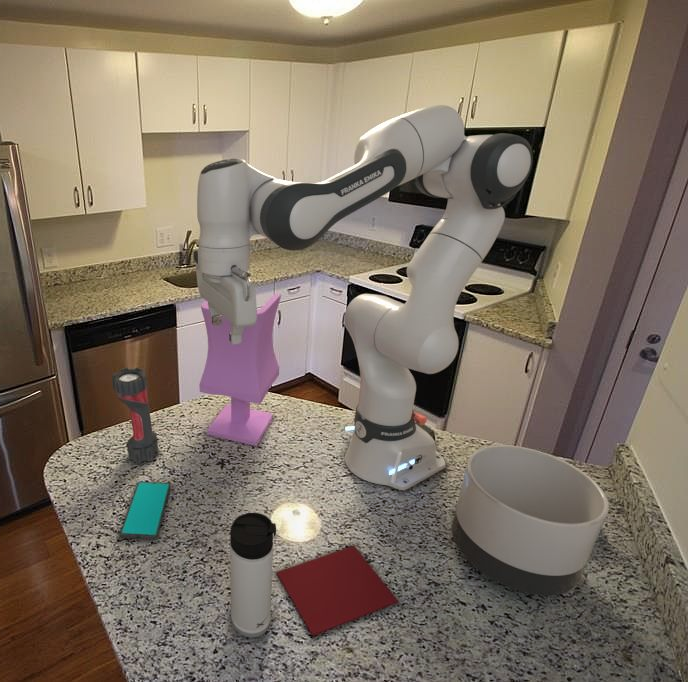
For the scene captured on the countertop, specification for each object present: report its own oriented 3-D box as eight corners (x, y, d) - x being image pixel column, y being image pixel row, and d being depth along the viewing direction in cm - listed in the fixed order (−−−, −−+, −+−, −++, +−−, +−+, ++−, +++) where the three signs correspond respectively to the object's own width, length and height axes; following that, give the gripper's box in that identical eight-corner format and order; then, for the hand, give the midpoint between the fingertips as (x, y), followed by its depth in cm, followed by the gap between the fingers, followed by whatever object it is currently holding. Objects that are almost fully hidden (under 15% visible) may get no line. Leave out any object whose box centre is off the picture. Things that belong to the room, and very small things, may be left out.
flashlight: (116, 461, 111) (104, 377, 102) (136, 443, 117) (127, 362, 108) (141, 471, 108) (132, 385, 98) (161, 453, 114) (154, 370, 104)
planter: (450, 506, 95) (467, 434, 88) (565, 539, 87) (595, 462, 80) (445, 580, 80) (466, 500, 72) (585, 629, 71) (624, 544, 64)
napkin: (353, 547, 86) (354, 545, 86) (398, 602, 76) (398, 600, 76) (276, 573, 82) (276, 571, 82) (312, 636, 71) (312, 634, 71)
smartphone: (119, 534, 90) (138, 481, 103) (120, 537, 90) (138, 484, 104) (157, 537, 89) (170, 483, 102) (157, 540, 89) (171, 486, 103)
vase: (277, 416, 127) (281, 294, 113) (259, 449, 114) (261, 315, 100) (224, 405, 133) (222, 287, 119) (201, 435, 120) (195, 307, 106)
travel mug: (271, 642, 71) (274, 545, 63) (228, 634, 72) (226, 539, 64) (273, 604, 76) (277, 511, 68) (234, 598, 78) (233, 506, 70)
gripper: (267, 272, 73) (265, 352, 78) (220, 246, 90) (221, 313, 96) (229, 277, 71) (230, 358, 77) (189, 249, 89) (192, 317, 94)
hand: (225, 333), depth 86 cm, fingers open, 8 cm apart
